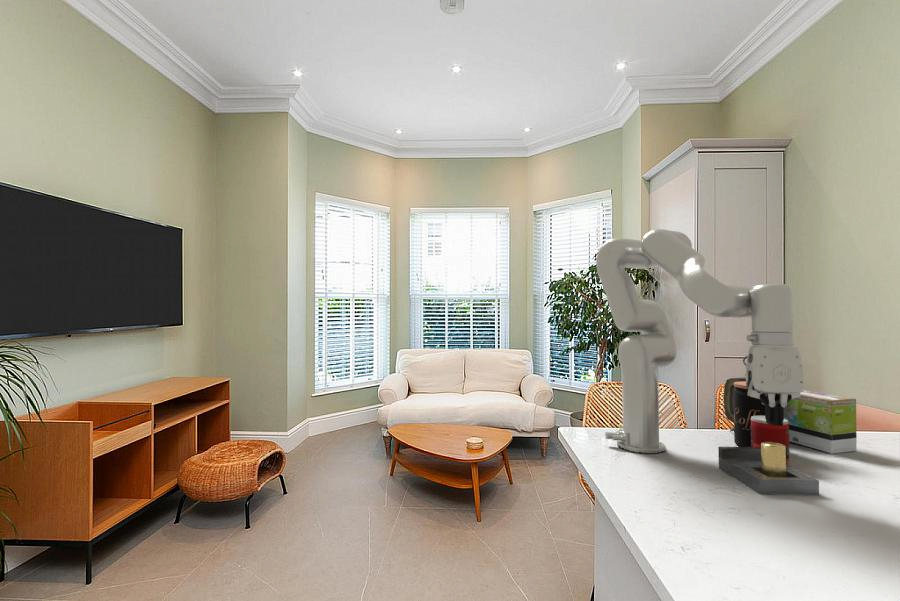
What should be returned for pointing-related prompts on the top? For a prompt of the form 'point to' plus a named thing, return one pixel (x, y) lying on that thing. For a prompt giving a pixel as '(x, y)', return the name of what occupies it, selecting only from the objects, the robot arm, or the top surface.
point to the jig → (749, 472)
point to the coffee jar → (745, 414)
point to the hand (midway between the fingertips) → (774, 424)
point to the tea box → (822, 421)
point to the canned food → (769, 433)
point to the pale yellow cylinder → (773, 459)
